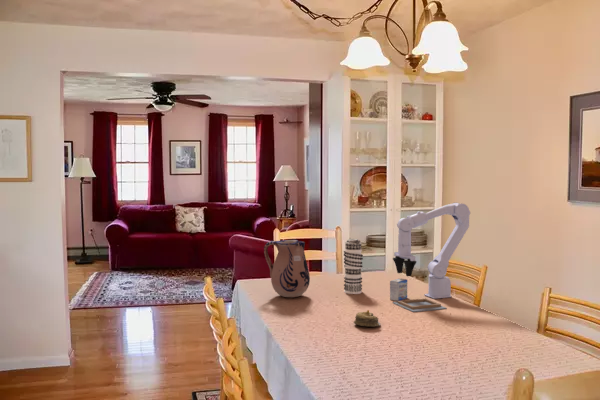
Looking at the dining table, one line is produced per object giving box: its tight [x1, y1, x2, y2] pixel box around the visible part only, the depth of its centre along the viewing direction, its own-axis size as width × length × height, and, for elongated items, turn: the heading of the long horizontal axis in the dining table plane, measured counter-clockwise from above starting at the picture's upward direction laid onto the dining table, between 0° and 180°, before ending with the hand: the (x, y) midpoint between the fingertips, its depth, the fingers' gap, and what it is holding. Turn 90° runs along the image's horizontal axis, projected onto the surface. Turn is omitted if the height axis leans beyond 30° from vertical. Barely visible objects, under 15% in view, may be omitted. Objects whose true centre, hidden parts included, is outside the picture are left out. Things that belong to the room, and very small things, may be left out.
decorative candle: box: [343, 238, 364, 295], centre depth 245 cm, size 9×9×25 cm
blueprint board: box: [392, 298, 448, 313], centre depth 219 cm, size 16×16×2 cm
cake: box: [353, 309, 382, 328], centre depth 192 cm, size 10×10×5 cm
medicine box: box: [389, 278, 408, 302], centre depth 231 cm, size 8×4×9 cm, turn 138°
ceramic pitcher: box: [263, 239, 311, 298], centre depth 237 cm, size 18×21×25 cm
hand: (404, 274), depth 234 cm, fingers open, 7 cm apart
